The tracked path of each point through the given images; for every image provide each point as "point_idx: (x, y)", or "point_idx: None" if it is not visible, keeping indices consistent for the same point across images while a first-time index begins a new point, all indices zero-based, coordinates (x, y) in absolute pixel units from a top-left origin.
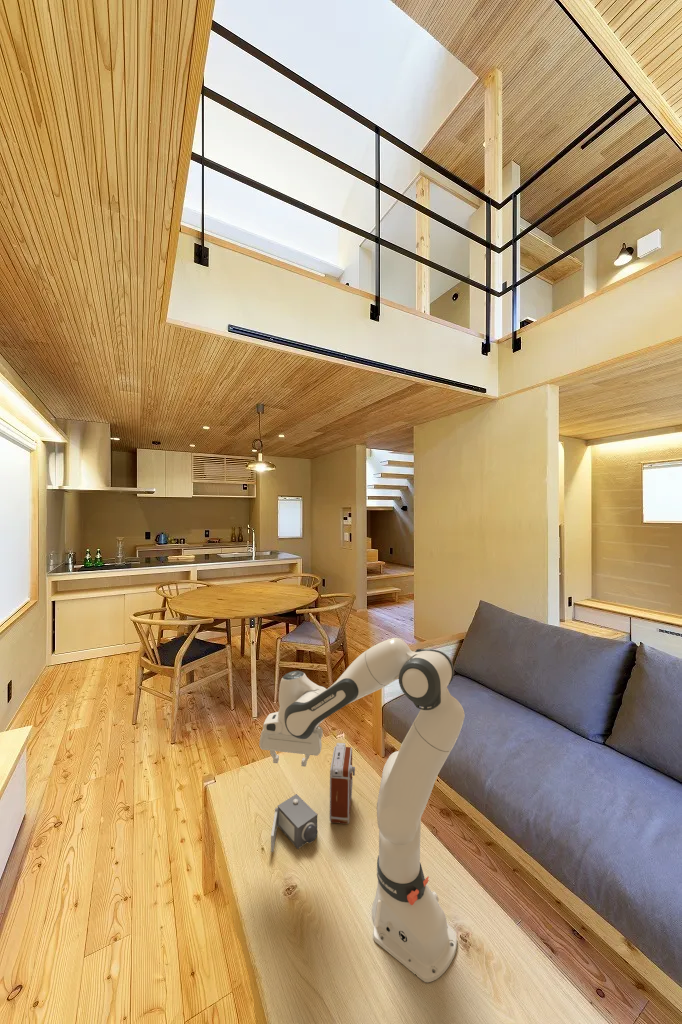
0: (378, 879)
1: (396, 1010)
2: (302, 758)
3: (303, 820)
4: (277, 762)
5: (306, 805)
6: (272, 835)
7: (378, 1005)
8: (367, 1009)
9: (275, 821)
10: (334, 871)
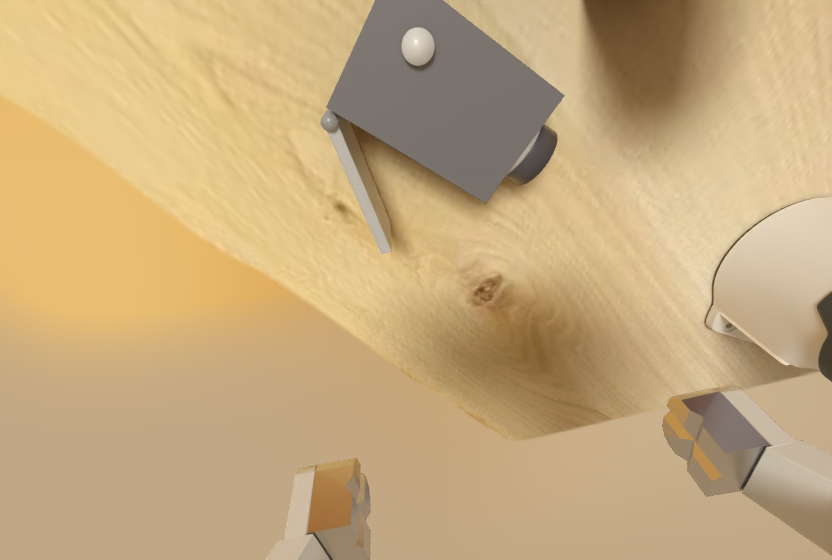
0: (823, 366)
1: None
2: (722, 460)
3: (499, 156)
4: (367, 493)
5: (489, 49)
6: (386, 251)
7: None
8: None
9: (363, 188)
10: (610, 207)
